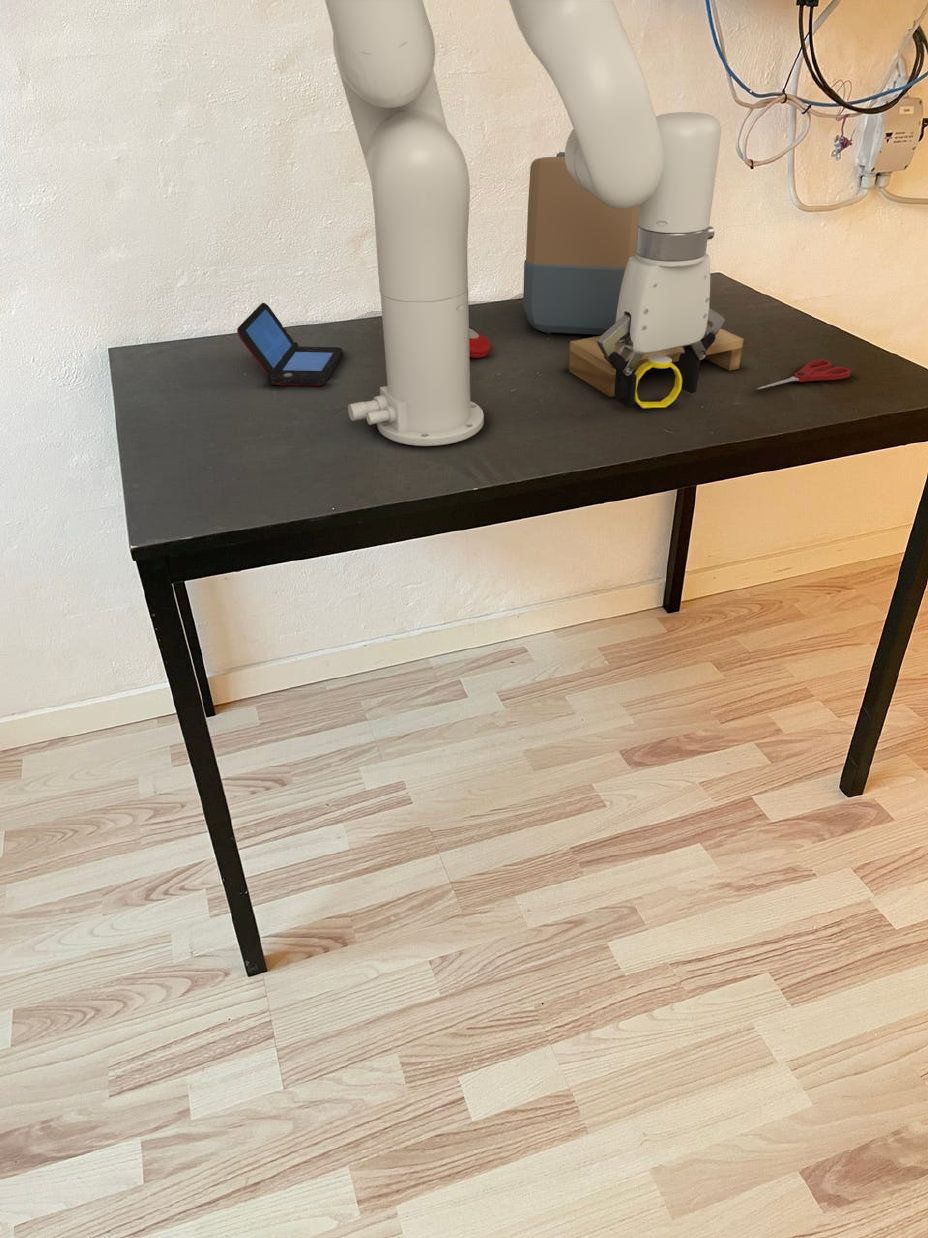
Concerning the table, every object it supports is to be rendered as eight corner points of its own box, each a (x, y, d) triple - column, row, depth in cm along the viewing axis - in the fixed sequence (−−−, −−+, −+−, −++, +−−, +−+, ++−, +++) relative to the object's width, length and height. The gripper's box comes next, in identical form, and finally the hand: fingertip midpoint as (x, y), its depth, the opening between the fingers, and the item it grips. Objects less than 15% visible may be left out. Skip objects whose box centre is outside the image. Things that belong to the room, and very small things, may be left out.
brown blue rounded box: (643, 308, 139) (659, 140, 125) (634, 344, 126) (651, 161, 112) (537, 303, 142) (541, 139, 128) (518, 337, 129) (520, 159, 115)
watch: (633, 413, 106) (638, 364, 103) (626, 404, 109) (630, 356, 105) (681, 408, 107) (687, 360, 104) (673, 400, 109) (678, 352, 106)
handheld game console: (324, 388, 115) (318, 331, 111) (243, 386, 116) (233, 329, 112) (345, 354, 125) (340, 300, 121) (271, 353, 126) (262, 299, 122)
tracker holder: (506, 345, 123) (446, 343, 117) (496, 374, 126) (437, 373, 120) (462, 303, 130) (404, 299, 124) (453, 331, 132) (396, 328, 127)
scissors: (853, 377, 114) (855, 369, 113) (772, 399, 108) (774, 392, 108) (820, 364, 117) (822, 356, 117) (741, 385, 112) (742, 377, 112)
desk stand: (609, 397, 111) (612, 365, 108) (568, 371, 118) (570, 341, 116) (738, 368, 117) (743, 338, 115) (692, 345, 125) (695, 317, 122)
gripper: (714, 226, 102) (695, 373, 113) (584, 246, 97) (576, 399, 107) (758, 240, 97) (733, 393, 107) (623, 262, 91) (611, 422, 102)
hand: (655, 395), depth 107 cm, fingers open, 8 cm apart
